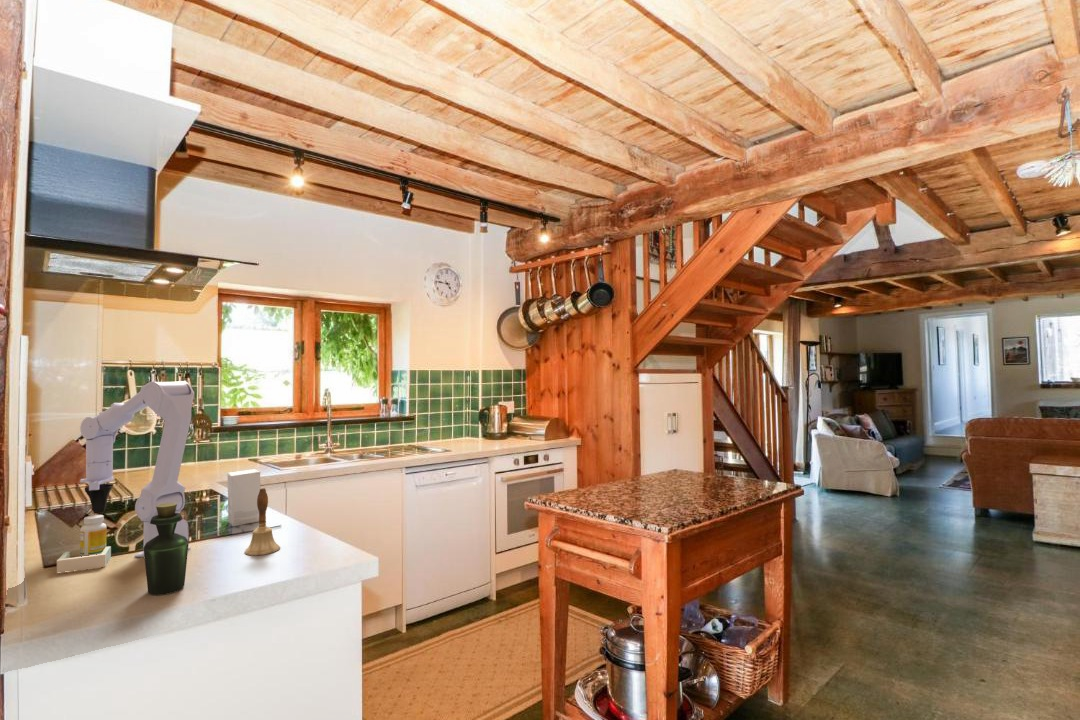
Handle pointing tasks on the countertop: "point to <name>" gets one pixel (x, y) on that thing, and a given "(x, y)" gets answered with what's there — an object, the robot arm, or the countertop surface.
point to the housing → (83, 561)
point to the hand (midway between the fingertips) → (99, 512)
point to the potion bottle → (166, 553)
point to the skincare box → (243, 497)
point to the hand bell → (262, 530)
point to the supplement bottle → (93, 535)
